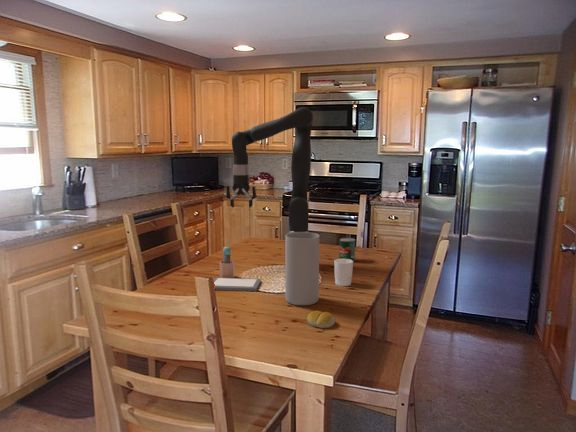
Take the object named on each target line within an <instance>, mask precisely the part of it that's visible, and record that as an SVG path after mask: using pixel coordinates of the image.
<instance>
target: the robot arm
mask: <svg viewBox="0 0 576 432" xmlns="http://www.w3.org/2000/svg"><path fill="white" fill-rule="evenodd" d="M313 122H314V115H313V111H311V110H310V109H309V108H308V107H306V106H305V107H304V106H301V107H298V108H297V109H295V110H293V111H292V112H290V113H288V114H286V115H284V116H281V117H280V118H277V119H273V120H270V121H266V122H264V123H261V124H258V125H255V126H253V127H251V128H250V129H247V130H243V131H235V132H234V133H233V134H232V136H231V146H232V147H231V148H232V153H233V159H232V160H233V163H232V164H233V166H232V168H233V169H232V180H233V183H232V185H228V186H227V185H226V197H225V198H226V199H229V200H230V207H231V208H235V197H236V196H246V197H247V198H248V199H249V200H248V208H252V207H253V205H254V203H253V200H255V199H257V189H256V186H255V185H252V186H250V168H249V155H248V153H247V146H249V145H251V144H254V143H256V142H259V141H263V140H265V139H268V138H271V137H274V136H275V135H278V134H280V133H282V132H285V131H288V130H291V129H294V143H293V147H292V148H293V149H292V152H291V153H292V154H291V161H290V162H291V164H290V169H291V171H290V173H291V183H292V189H291V198H290V202H289V205H288V233H294V232H309V200H308V199H309V196H308V187H309V179H310V174H311V167H312V165H311V164H312V149H311V148H312V147H311V146H312V145H311V135H312V128H313ZM232 190H233V193H232V194H231V191H232ZM249 191H251V192H252V195H251V193H250V192H249Z"/></svg>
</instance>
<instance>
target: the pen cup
mask: <svg viewBox="0 0 576 432" xmlns="http://www.w3.org/2000/svg"><path fill="white" fill-rule="evenodd" d="M218 265H219V269H218V270H219V278H235V261H233V260H231V259H230V263H228V264H225V263H223V260H220V261H219V263H218Z"/></svg>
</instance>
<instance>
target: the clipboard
mask: <svg viewBox="0 0 576 432" xmlns="http://www.w3.org/2000/svg"><path fill="white" fill-rule="evenodd" d="M213 280H214V284H215V289H216V290H215V291H232V292H233V291H235V292H257V290H258V289H259V287H260V285H261V283H262V278H247V277H245V278H244V277H243V278H242V277H234V278H220V277H215V278H214V279H213ZM260 282H261V283H260ZM259 284H260V285H259ZM258 286H259V287H258ZM257 288H258V289H257Z"/></svg>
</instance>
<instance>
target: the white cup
mask: <svg viewBox="0 0 576 432" xmlns="http://www.w3.org/2000/svg"><path fill="white" fill-rule="evenodd" d="M333 262H334V263H333V265H334V269H333V270H334V281H335V283H334V284H335V285H336V286H339V287H348V286H351V285H352V278H353V270H354V268H353V267H354V262H353V261H352V260H350V259H339V258H336V259H334V260H333Z"/></svg>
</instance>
